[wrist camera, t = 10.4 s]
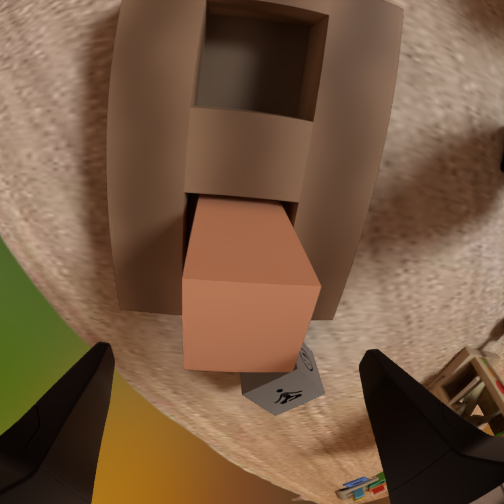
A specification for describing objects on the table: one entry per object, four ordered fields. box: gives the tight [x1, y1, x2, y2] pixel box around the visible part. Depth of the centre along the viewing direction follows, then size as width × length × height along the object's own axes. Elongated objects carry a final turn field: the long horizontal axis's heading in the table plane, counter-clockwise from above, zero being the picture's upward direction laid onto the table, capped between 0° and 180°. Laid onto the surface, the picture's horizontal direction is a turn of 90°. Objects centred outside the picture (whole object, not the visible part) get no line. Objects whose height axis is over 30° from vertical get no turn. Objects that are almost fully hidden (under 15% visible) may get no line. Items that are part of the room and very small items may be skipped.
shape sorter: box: [336, 472, 386, 502], centre depth 64 cm, size 34×19×5 cm, turn 18°
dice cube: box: [240, 343, 325, 416], centre depth 24 cm, size 5×5×5 cm
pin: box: [182, 193, 321, 372], centre depth 15 cm, size 4×4×10 cm
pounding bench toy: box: [426, 347, 504, 437], centre depth 27 cm, size 23×14×18 cm, turn 155°
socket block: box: [106, 0, 404, 320], centre depth 16 cm, size 14×20×4 cm
